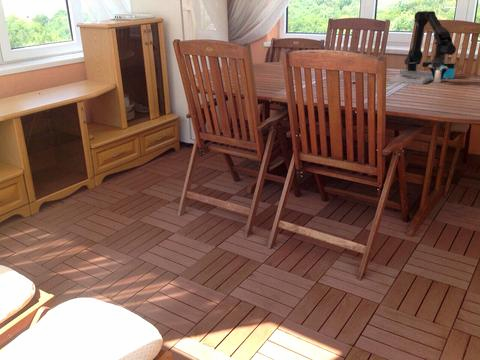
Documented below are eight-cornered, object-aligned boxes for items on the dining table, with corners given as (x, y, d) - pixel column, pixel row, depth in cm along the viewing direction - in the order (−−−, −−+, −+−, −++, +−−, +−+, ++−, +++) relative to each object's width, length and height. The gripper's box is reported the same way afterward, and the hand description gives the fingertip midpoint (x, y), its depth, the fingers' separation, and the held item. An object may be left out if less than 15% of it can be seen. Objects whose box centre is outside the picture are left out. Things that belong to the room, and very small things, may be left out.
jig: (400, 77, 319) (400, 70, 317) (431, 79, 307) (432, 72, 305) (390, 81, 307) (390, 74, 306) (422, 84, 296) (423, 76, 294)
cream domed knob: (435, 80, 303) (436, 69, 301) (441, 81, 301) (443, 69, 298) (433, 82, 300) (434, 70, 298) (439, 82, 298) (441, 70, 295)
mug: (445, 75, 317) (446, 62, 314) (456, 77, 311) (458, 64, 308) (433, 78, 311) (434, 65, 308) (444, 80, 305) (446, 66, 301)
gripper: (419, 53, 294) (417, 80, 300) (452, 55, 283) (449, 82, 289) (426, 51, 302) (424, 77, 308) (458, 52, 291) (455, 79, 297)
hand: (437, 79), depth 300 cm, fingers closed on cream domed knob, 4 cm apart
